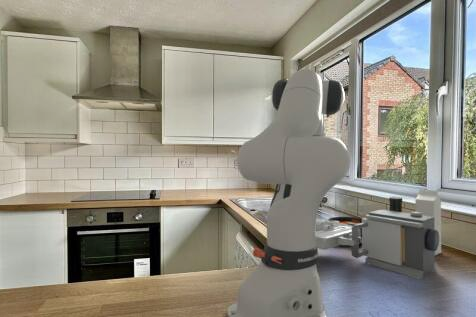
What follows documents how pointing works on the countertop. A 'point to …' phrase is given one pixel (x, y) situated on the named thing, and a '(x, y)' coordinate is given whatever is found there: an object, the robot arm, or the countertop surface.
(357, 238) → the side door
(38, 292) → the countertop surface
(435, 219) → the milk
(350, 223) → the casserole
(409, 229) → the camera case
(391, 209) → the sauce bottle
